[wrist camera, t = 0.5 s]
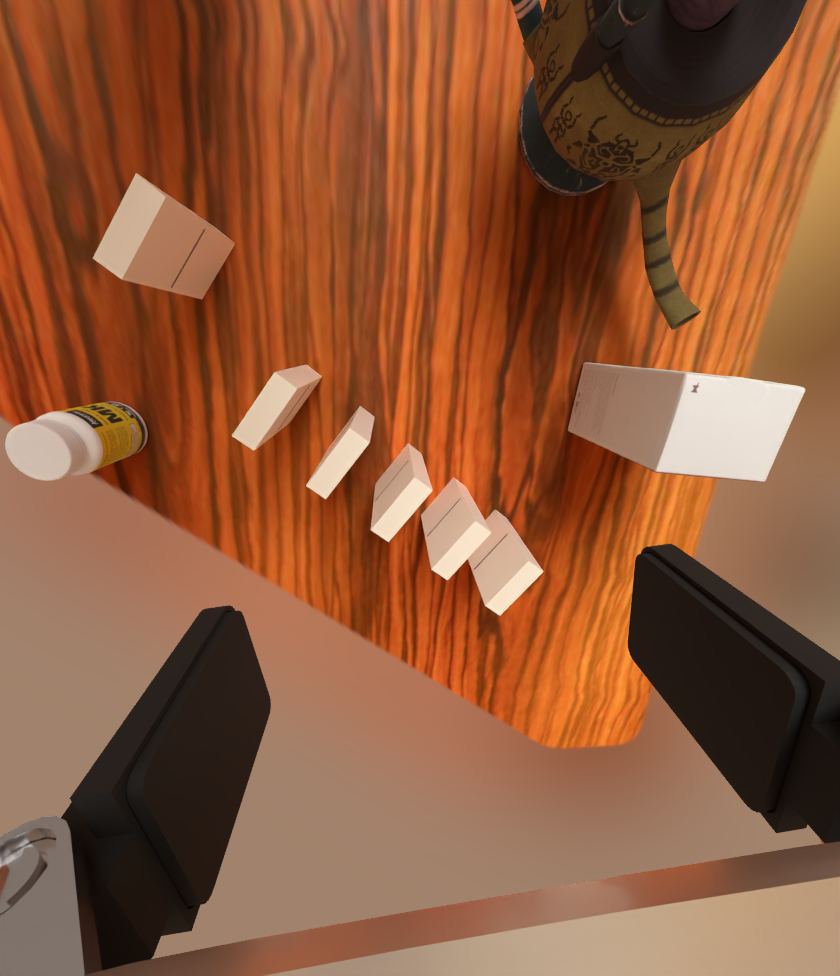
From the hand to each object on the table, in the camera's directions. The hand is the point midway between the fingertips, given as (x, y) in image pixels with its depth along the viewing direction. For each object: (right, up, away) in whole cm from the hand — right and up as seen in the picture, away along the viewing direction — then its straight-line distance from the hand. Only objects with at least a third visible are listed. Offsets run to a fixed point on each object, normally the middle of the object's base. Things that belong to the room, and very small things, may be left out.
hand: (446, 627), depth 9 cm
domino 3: (-7, +8, +26) cm, 28 cm away
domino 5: (+2, +2, +29) cm, 29 cm away
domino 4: (-3, +5, +28) cm, 28 cm away
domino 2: (-11, +11, +25) cm, 29 cm away
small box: (+17, +11, +27) cm, 34 cm away
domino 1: (-17, +21, +21) cm, 34 cm away
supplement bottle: (-26, +9, +25) cm, 37 cm away
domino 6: (+6, -1, +31) cm, 31 cm away
